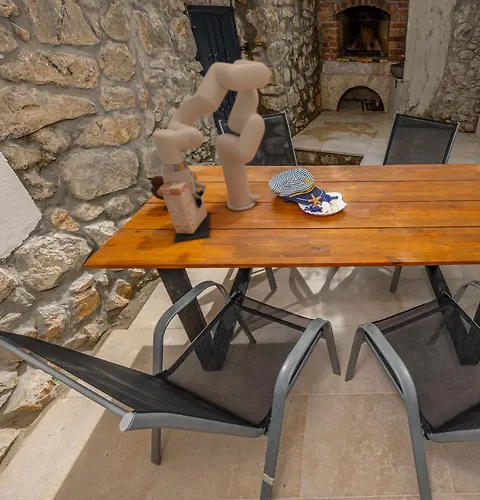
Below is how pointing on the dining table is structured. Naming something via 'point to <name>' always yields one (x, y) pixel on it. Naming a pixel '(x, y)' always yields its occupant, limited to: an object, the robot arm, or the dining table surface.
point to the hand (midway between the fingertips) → (187, 207)
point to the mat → (198, 234)
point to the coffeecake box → (183, 206)
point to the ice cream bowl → (157, 187)
